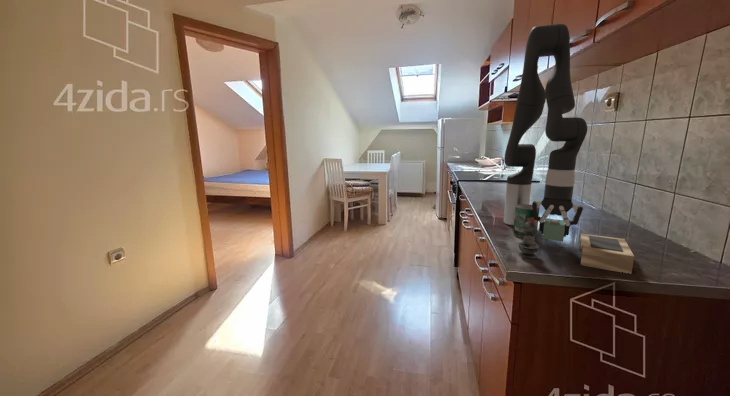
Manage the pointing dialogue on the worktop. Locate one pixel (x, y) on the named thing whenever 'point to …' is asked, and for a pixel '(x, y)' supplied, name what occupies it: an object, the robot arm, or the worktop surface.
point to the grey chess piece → (528, 242)
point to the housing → (554, 229)
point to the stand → (606, 253)
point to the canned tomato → (523, 219)
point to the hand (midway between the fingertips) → (553, 234)
